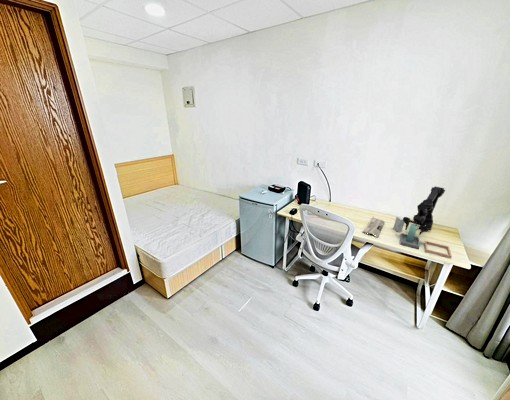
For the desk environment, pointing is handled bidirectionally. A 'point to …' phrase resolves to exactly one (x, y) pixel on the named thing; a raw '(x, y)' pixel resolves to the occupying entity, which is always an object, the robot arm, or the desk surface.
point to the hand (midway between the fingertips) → (412, 232)
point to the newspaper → (374, 226)
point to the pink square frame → (438, 252)
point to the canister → (411, 233)
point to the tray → (414, 244)
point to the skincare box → (398, 224)
